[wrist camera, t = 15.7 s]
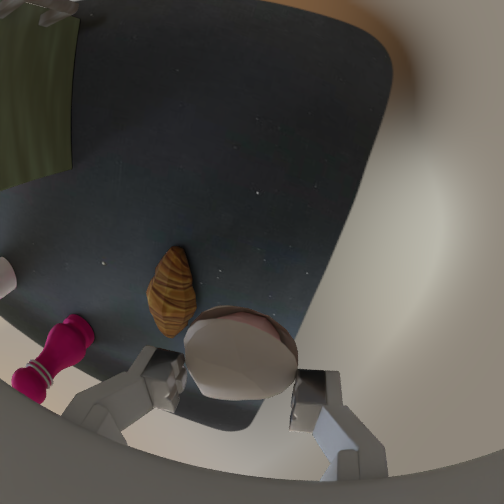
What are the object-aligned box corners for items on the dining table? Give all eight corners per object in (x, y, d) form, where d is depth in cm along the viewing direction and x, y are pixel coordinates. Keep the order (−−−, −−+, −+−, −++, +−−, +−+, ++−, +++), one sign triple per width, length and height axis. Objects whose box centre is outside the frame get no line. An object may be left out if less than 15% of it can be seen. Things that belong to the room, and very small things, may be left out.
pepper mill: (67, 303, 42) (-7, 376, 23) (99, 327, 42) (30, 411, 24) (64, 329, 44) (1, 398, 26) (94, 351, 45) (35, 428, 27)
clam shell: (318, 331, 11) (321, 378, 8) (251, 394, 13) (242, 437, 10) (221, 273, 10) (201, 313, 8) (171, 351, 12) (150, 391, 10)
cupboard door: (111, 7, 23) (-17, -39, 3) (101, 166, 31) (-50, 220, 12) (75, 21, 24) (-48, -5, 4) (67, 169, 32) (-69, 219, 12)
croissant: (196, 337, 39) (185, 360, 35) (152, 323, 40) (137, 344, 35) (208, 250, 34) (195, 268, 29) (156, 236, 34) (136, 252, 30)
